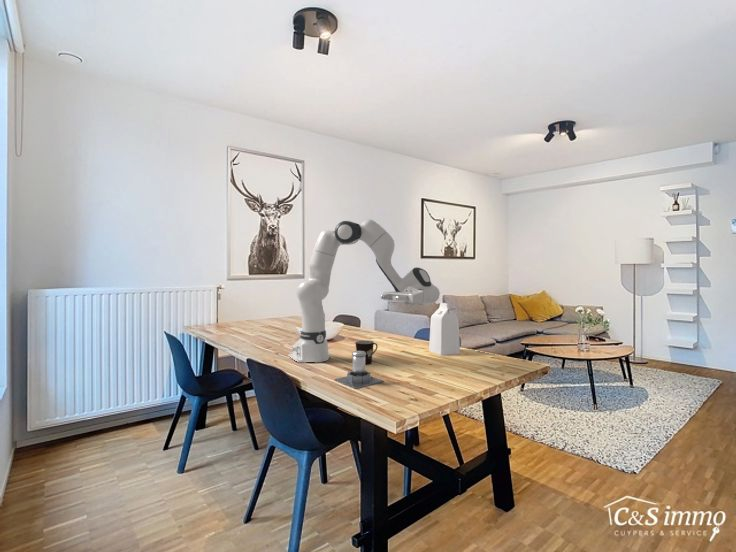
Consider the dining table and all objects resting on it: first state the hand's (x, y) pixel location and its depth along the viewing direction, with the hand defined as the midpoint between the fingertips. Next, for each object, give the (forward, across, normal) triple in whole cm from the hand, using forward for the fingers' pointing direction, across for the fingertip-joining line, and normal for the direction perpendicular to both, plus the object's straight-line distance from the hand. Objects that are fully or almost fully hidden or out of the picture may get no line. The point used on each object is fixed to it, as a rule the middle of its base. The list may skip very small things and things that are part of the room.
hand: (389, 297), depth 167 cm
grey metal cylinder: (+18, +2, +31) cm, 36 cm away
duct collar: (+18, +2, +32) cm, 37 cm away
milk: (-49, -10, +32) cm, 59 cm away
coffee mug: (-3, -18, +32) cm, 37 cm away
